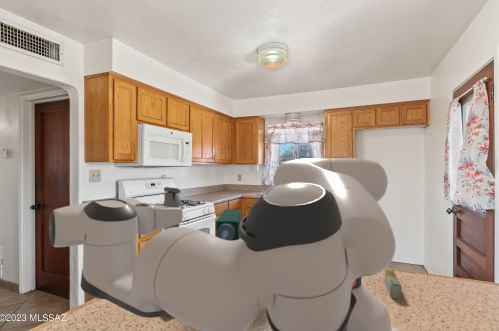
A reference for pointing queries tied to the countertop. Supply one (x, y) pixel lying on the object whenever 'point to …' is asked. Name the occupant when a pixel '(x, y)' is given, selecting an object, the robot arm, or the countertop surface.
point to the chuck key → (171, 199)
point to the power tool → (228, 225)
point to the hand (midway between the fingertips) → (174, 209)
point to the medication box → (392, 284)
